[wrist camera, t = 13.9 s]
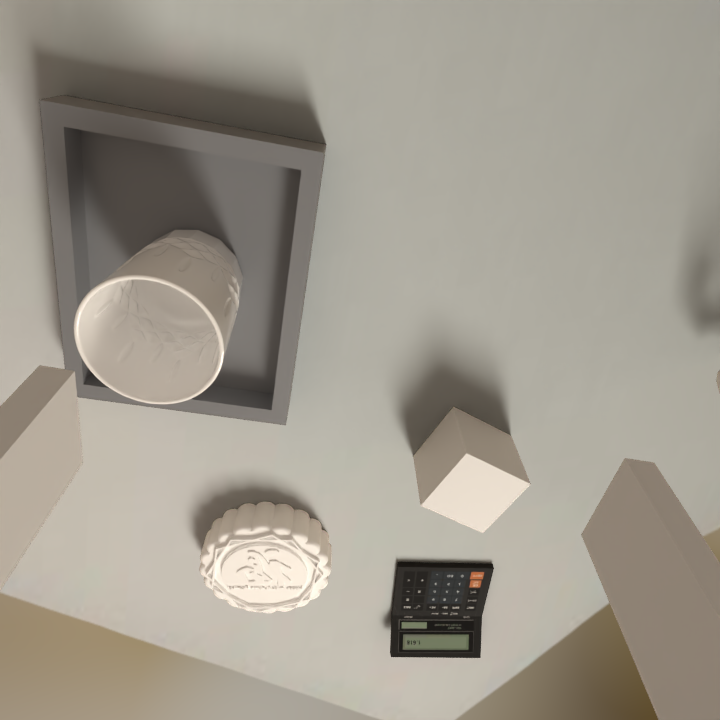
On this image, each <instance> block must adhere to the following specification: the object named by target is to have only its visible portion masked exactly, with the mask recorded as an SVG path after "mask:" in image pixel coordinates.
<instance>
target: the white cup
mask: <svg viewBox="0 0 720 720" xmlns="http://www.w3.org/2000/svg"><path fill="white" fill-rule="evenodd" d="M242 280H243V276H242V273H241V270H240V267H239V264H238V261H237V258H236V256H235V255H234V254H233V253H232V252H231V251H230V250H229V248H228V247H227V246H226V245H225V244H224V243H223V242H222V241H221V240H220V239H218V238H216V237H213V236H211V235H209V234H207V233H204V232H202V231H200V230H173V231H171V232H169V233H167V234H165V235H163V236H161V237H159V238H157V239H156V240H154V241H153V242H152V243H151V244H149V245H148V246H146V247H144V248H143V249H142V250H140V251H139V252H138V253H136V254H135V255H134V256H132V257H131V258H130V259H128V260H127V261H126V262H124V263H123V264H122V265H121V266H120V267H118V268H117V269H116V270H115V271H114V272H112V273H111V274H110V275H109V276H108V277H107V278H105V279H104V280H103V281H102V282H100V283H99V284H98V285H97V286H95V287H94V288H93V289H92V290H91V291H90V292H89V293H88V294H87V295H86V296H85V297H84V298H83V300H82V301H81V303H80V305H79V307H78V309H77V312H76V315H75V320H74V337H75V342H76V346H77V349H78V351H79V353H80V356H81V358H82V359H83V361H84V363H85V364H86V366H87V367H88V368H89V370H90V371H91V372H92V373H93V374H94V375H95V376H96V377H97V378H98V379H99V380H100V381H101V382H102V383H103V384H105V385H106V386H107V387H109V388H110V389H112V390H113V391H115V392H117V393H119V394H121V395H123V396H125V397H128V398H130V399H133V400H136V401H140V402H144V403H150V404H174V403H179V402H183V401H186V400H189V399H191V398H194V397H196V396H197V395H199V394H201V393H202V392H203V391H205V390H206V389H207V388H208V387H209V386H210V385H211V384H212V383H213V382H214V380H215V379H216V377H217V376H218V374H219V372H220V369H221V367H222V363H223V360H224V356H225V353H226V350H227V346H228V343H229V340H230V336H231V333H232V330H233V326H234V323H235V319H236V315H237V310H238V306H239V299H240V294H241V287H242Z"/></svg>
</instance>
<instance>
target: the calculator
mask: <svg viewBox="0 0 720 720" xmlns="http://www.w3.org/2000/svg"><path fill="white" fill-rule="evenodd" d="M493 569H494V568H493V564H476V563H423V562H398V564H397V572H396V581H395V589H394V598H393V607H392V617H391V646H390V654H391V657H446V658H480V653H481V625H482V614H483V610H484V605H485V601H486V597H487V593H488V589H489V585H490V581H491V577H492V573H493Z"/></svg>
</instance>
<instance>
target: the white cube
mask: <svg viewBox="0 0 720 720" xmlns="http://www.w3.org/2000/svg"><path fill="white" fill-rule="evenodd" d="M413 458H414V464H415V471H416V478H417V484H418V491H419V497H420V504H421V506H422V507H425V508H427V509H429V510H432V511H434V512H436V513H438V514H441V515H443V516H445V517H447V518H450V519H452V520H454V521H457V522H459V523H461V524H463V525H466V526H468V527H470V528H473V529H475V530H477V531H479V532H482V533H483V532H484V531H485V530H486V529H487V528H488V527H489V526H490V525H491V524H492V523H493V522H494V521H495V520H496V519H497V518H498V517H499V516H500V515H501V514H502V513H503V512H504V511H505V510H506V509H507V508H508V507H509V506H510V505H511V504H512V503H513V502H514V501H515V500H516V499H517V498H518V497H519V496H520V495H521V494H522V493H523V492H524V491H525V489H526V488H527V487H528V486H529V485H530V484H531V483H530V481H529V479H528V476H527V474H526V471H525V469H524V466H523V464H522V461H521V459H520V456H519V454H518V451H517V449H516V446H515V444H514V441H513V439H512V437H511V435H509V434H507V433H505V432H503V431H501V430H499V429H497V428H495V427H493V426H491V425H489V424H487V423H485V422H483V421H481V420H479V419H477V418H475V417H473V416H471V415H469V414H467V413H465V412H463V411H461V410H459V409H457V408H455V407H454V406H453V408H452V409H451V410H450V411H449V413H448V414H447V415H446V416H445V418H444V419H443V420H442V421H441V422H440V424H439V425H438V426H437V427H436V429H435V430H434V431H433V432H432V434H431V435H430V436H429V437H428V438H427V440H426V441H425V442H424V443H423V445H422V446H421V447H420V448H419V450H418V451H417V452H416V453H415V454H414V456H413Z"/></svg>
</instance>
